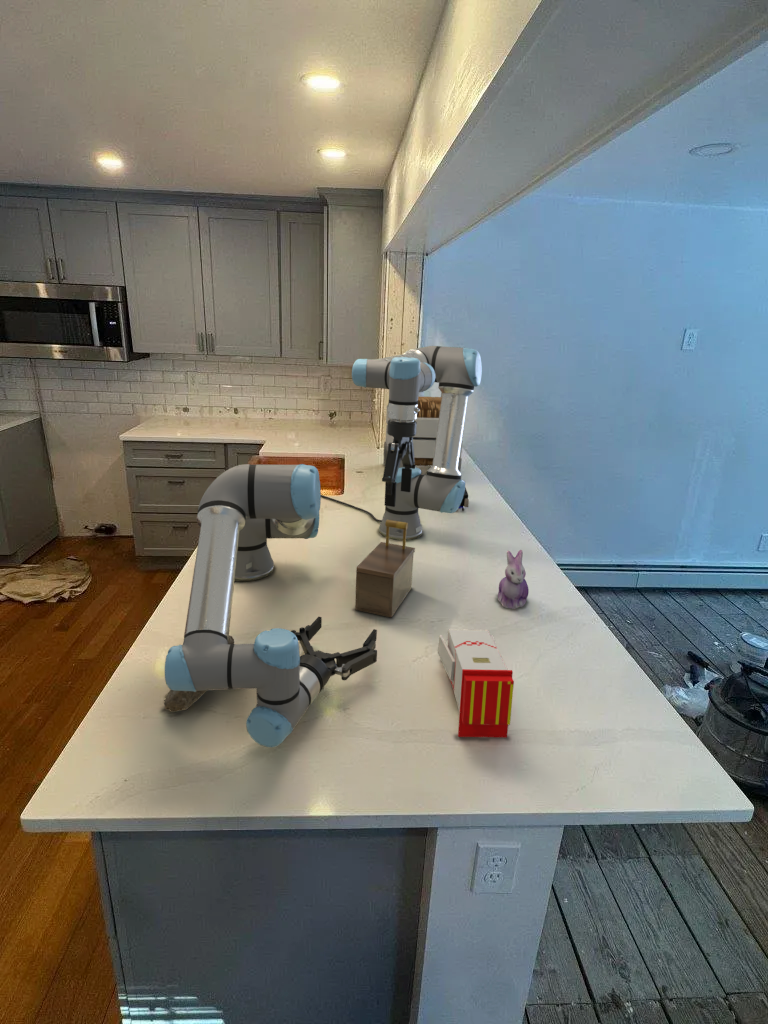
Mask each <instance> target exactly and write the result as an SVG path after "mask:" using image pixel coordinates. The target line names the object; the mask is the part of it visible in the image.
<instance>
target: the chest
mask: <svg viewBox="0 0 768 1024" xmlns="http://www.w3.org/2000/svg"><path fill="white" fill-rule="evenodd" d="M414 555H415V552H414V553H413V554H412V556H411V557H410V558H409V560H408V561H407V562H406V563H405V565H404V566H403V567H402V569H401V570H400V571H399V572H398V574H397V575H396V576H395V578H394V579H392V578H387V577H381V576H376V575H371V574H366V573H361V572H356V571H355V572H356V573H355V599H354V600H355V602H354V610H355V611H358V612H364V613H368V614H373V615H377V616H382V617H386V618H393V616H394V615H395V614H396V612H397V610H398V609H399V607H400V606H401V605H402V603H403V602H404V600H405V598H407V596H408V594H409V593H410V591H411V590H412V583H413V569H414Z"/></svg>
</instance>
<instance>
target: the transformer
mask: <svg viewBox="0 0 768 1024" xmlns="http://www.w3.org/2000/svg"><path fill="white" fill-rule="evenodd" d="M440 393H441V394H440V396H418V407H417V408H419V412H417V419H416V420H414V421H416V422H417V427H416V435H415V436H413V448H414V459H415V464H414V465H415V467H417V466H418V467H431V466H432V464H433V457H434V450H435V442H436V435H437V428H438V421H439V413H440V406H441V399H442V392H441V391H440ZM385 414H386V415H385V423H386V428H385V438H384V442H383V466H384V467H385V464H386V459H387V453H388V444H389V443H392V442H393V439H394V437H393V436H390V435H388V433H387V424H388V420H390V419H389V418H388V404H387V405H386V413H385ZM464 429H465V428H464ZM464 429H463V433H464V431H465V430H464ZM463 438H464V435H463V436H462V439H463ZM463 442H464V441H463V440H462V443H461V449H460V456H459V463H458V470H459V472H460V473H461V472H462V461H463V460H462V453H463ZM399 468H403V464H402V460H401V461H400V465H399ZM461 474H462V473H461Z"/></svg>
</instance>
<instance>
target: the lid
mask: <svg viewBox="0 0 768 1024" xmlns="http://www.w3.org/2000/svg"><path fill="white" fill-rule="evenodd" d="M385 526H386V527H387V528H386V537H385V542H384V541H380V542H379V543H378V544H377V546H375V547H374V548H373V550H371V552H369V554H368V555H366V557H365V558H364V559H363V560H362V561H361V562H360V563H359V564H358V565H357V566H356V569H355V570H356V571H355V572H361V573H366V574H371V575H376V576H381V577H387V578H392V579H394V578H395V576H396V575H397V574H398V572H399V571H400V570H401V569H402V567H403V566H404V565H405V563H406V562H407V561H408V560H409V558H410V557H411V556H412V554H413V553H414V554H415V551H416V548H415V547H414V546H413V547H412V546H407V540H406V530H407V528H408V523H406V522H400V521H393V520H386V523H385ZM390 527H392V528H398V529H403V540H402V545H401V544H395V543H390V538H389V528H390Z"/></svg>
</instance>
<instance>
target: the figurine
mask: <svg viewBox="0 0 768 1024" xmlns="http://www.w3.org/2000/svg"><path fill="white" fill-rule="evenodd" d="M523 552H524V551H523V550H522V549H520V550H518V551H517V553H516V554H515V556H514V555H513V553H512V552H511V551H510V550H507V551H506V561H507V565H506V568H505V570H504V575H505V576H504V577H503V578H501V580H500V581H499V584H498V593H497V601H498V602H499V603H500V604H501V606H502V607H503V608H506V609H507V608H508V609H511V610H512V609H514V610H516V609H518V608H522V607H524V606H525V605H526V602H527V601H528V600H527V599H528V596H529V592H530V591H529V590H530V589H529V585H528V582H527V580H526V575H527V574H526V573H527V571H526V570H525V566H524V565H523V555H524V554H523Z"/></svg>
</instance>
